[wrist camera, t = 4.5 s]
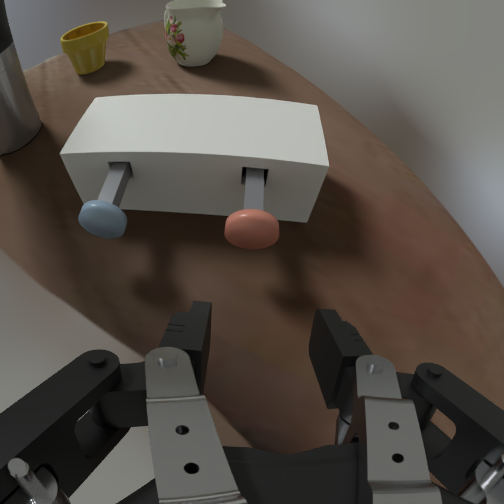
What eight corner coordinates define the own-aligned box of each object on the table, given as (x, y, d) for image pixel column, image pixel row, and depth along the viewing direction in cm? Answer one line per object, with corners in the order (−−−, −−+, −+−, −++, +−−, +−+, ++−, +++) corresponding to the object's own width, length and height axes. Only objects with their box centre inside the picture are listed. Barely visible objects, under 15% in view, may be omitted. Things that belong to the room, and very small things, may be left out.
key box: (307, 222, 34) (329, 166, 27) (85, 207, 33) (59, 153, 25) (301, 160, 39) (317, 105, 32) (110, 150, 38) (95, 97, 30)
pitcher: (187, 41, 58) (187, -10, 46) (241, 64, 52) (247, 2, 40) (146, 56, 53) (141, 0, 41) (196, 81, 48) (196, 11, 36)
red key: (274, 251, 27) (283, 222, 23) (224, 247, 27) (224, 217, 23) (274, 179, 31) (281, 147, 28) (231, 175, 31) (233, 143, 27)
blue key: (129, 240, 27) (117, 210, 23) (87, 237, 26) (71, 208, 22) (150, 171, 31) (143, 139, 27) (112, 170, 30) (103, 140, 27)
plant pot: (121, 63, 52) (115, 23, 43) (78, 84, 47) (68, 43, 39) (102, 53, 55) (96, 19, 46) (63, 72, 50) (54, 37, 42)
